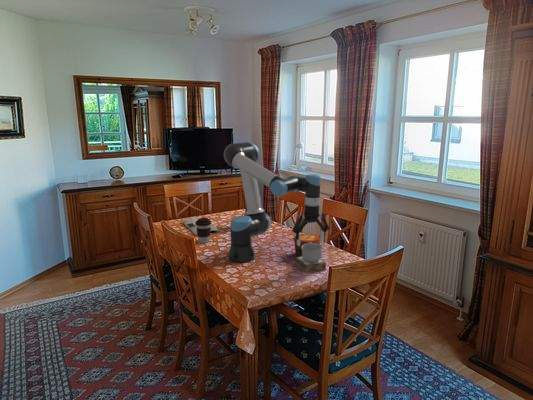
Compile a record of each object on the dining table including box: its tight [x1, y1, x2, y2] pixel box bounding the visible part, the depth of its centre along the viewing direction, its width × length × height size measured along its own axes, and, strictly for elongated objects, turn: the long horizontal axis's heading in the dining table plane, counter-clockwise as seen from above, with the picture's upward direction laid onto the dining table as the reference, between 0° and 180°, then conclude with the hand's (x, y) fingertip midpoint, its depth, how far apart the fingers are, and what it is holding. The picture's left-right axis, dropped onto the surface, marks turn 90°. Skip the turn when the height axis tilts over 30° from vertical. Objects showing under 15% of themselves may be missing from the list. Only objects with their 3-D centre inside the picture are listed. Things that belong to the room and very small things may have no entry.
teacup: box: [301, 242, 323, 262], centre depth 195 cm, size 14×11×8 cm
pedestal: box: [295, 256, 327, 274], centre depth 196 cm, size 12×12×4 cm
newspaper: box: [181, 217, 221, 237], centre depth 268 cm, size 37×19×3 cm, turn 27°
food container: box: [292, 233, 321, 257], centre depth 213 cm, size 16×16×11 cm
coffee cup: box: [195, 217, 212, 244], centre depth 235 cm, size 10×10×15 cm
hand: (310, 243), depth 194 cm, fingers open, 13 cm apart
